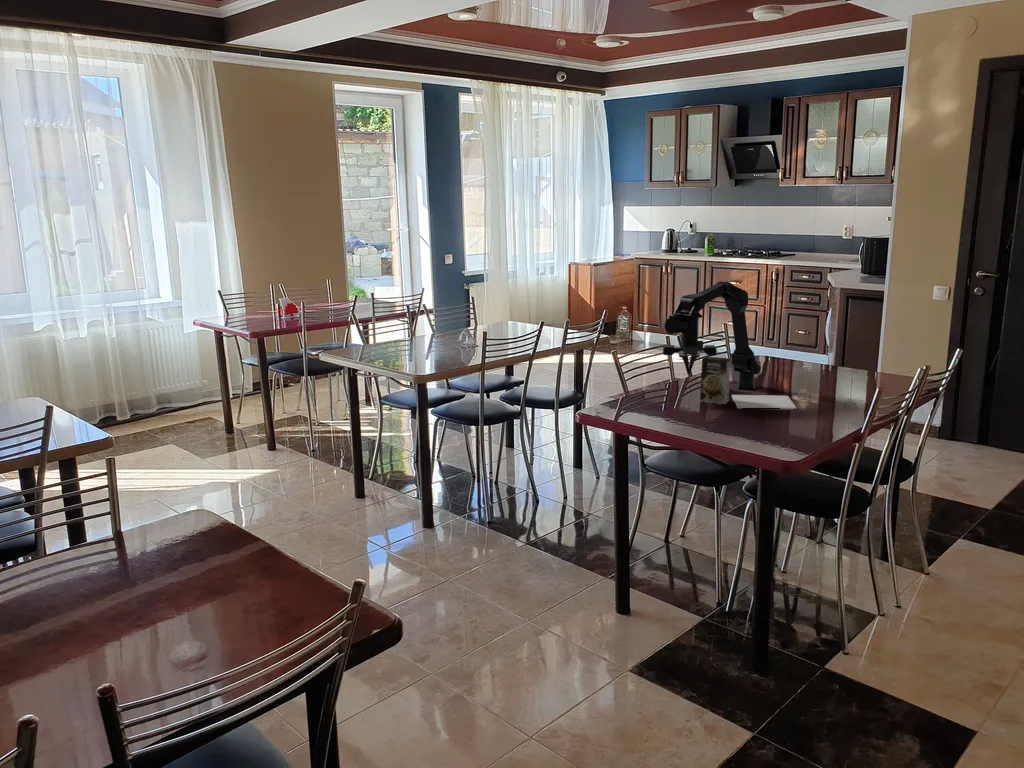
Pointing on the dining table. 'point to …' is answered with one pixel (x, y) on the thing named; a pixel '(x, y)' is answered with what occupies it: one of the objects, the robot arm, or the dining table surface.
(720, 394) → the cookie box
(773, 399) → the mat
